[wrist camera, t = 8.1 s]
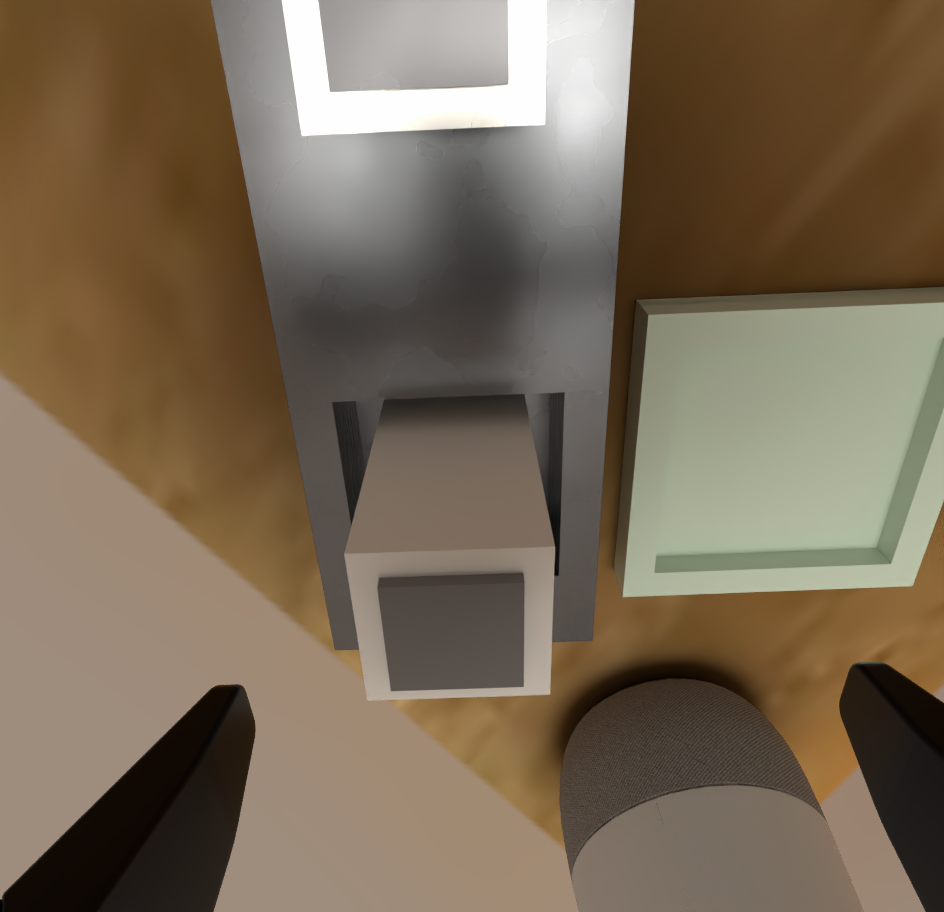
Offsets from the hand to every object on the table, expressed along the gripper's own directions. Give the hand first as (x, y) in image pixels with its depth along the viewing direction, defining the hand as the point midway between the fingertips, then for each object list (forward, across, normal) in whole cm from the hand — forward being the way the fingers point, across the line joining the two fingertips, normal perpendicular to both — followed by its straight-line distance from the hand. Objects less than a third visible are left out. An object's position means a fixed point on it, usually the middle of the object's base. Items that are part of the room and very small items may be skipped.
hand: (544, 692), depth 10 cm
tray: (+12, -9, +3) cm, 15 cm away
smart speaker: (+12, -6, +17) cm, 22 cm away
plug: (+11, +2, +2) cm, 11 cm away
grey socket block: (+12, +2, -3) cm, 13 cm away
